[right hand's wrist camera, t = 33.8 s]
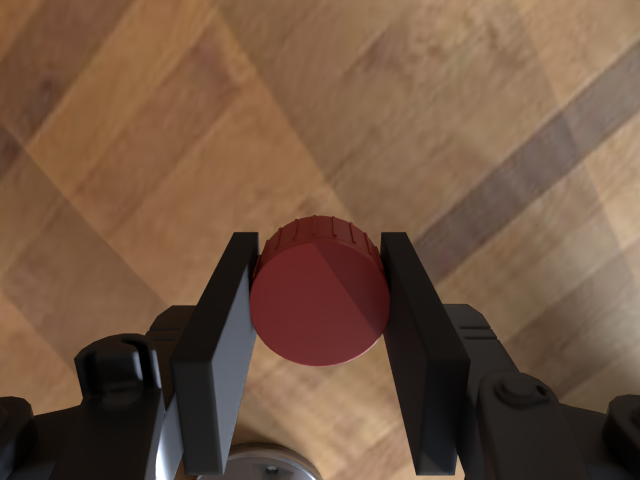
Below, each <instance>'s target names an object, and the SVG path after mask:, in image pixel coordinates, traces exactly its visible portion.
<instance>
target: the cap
mask: <svg viewBox="0 0 640 480" xmlns="http://www.w3.org/2000/svg"><path fill="white" fill-rule="evenodd" d="M251 279H253V283H252V286H251V289H250V294H249V299H250V315H251V321H252V324H253V326H254V328H255V331H256V332H257V334H258V335H259V337H260V338H261V340H262V341H263V342H264V343H265V344H266V345H267V346H268V347H269V348H270V349H271V350H272V351H274V352H275V353H277V354H278V355H280V356H281V357H283V358H285V359H287V360H290V361H292V362H295V363H298V364H302V365H307V366H318V367H321V366H332V365H338V364H341V363H345V362H347V361H350V360H352V359H354V358H356V357H358V356H360V355H362V354H363V353H364V352H366V351H367V350H368V349H370V348H371V347H372V346H373V345H374V344H375V343H376V341H377V340H378V339H379V338H380V336H381V335H382V333H383V331H384V330H385V327H386V325H387V323H388V319H389V311H390V291H389V288H388V282H387V279H386V276H385V272H384V267H383V264H382V261H381V257H380V254H379V251H378V248H377V246H374V245H373V243H372V242H371V240H370V239H369V238H368V235H367V233H366V232H365V233H363V232H362V231H361V230H360V229H359V228H357V227H356V226H354V225H353V223H351V222H350V223H349V222H346V221H344V220H341V219H338V218H335V217H334V216H332V217H329V216H316V215H313V216H311V217H306V218H302V219H295V221H293V222H291V223H289V224H287V225H285V226H284V227H282V228H281V227H280V228H279V229H278V231H277V232H276V233H275V234H274V235H273V236H272V237H271V238H270V240H267V241H266V244H265V247H264V249H263V251H262V254H261V255H260V254H259V257H258V260H257V263H256V266H255V269H254V272H253V275H252V278H251Z"/></svg>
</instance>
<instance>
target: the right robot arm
mask: <svg viewBox="0 0 640 480" xmlns="http://www.w3.org/2000/svg"><path fill="white" fill-rule="evenodd" d="M258 257H259V235H258V232H234V233H233V235H232V237H231V239H230V241H229V243H228V245H227V247H226V249H225V251H224V253H223V255H222V257H221V259H220V261H219V263H218V265H217V267H216V269H215V270H214V272H213V274H212V276H211V278H210V280H209V282H208V284H207V286H206V288H205V290H204V292H203V294H202V296H201V298H200V300H199V302H198V304H197V305H172V306H171V307H170V308H168V309H167V310H165V311H164V312H162V313H161V314H160V315H158V316H157V318H156V319H155V321H154V322H153V324H152V325H151V327H150V330H149V331H147V333H146V335H145V336H144V335H141V334H118V335H113V336H108V337H105V338H103V339H100V340H98V341H95V342H93V343H91V344H90V345H88V346H87V347H85V348H84V349H82V350H81V351H80V352H79V353H78V355H77V356H76V357H75V358H74V361H75V365H76V370H77V374H78V378H79V383H80V387H81V391H82V396H83V400H82V402H81V404H80V405H78V406H75V407H71V408H68V409H63V410H59V411H54V412H50V413H45V414H40V415H36V416H34V415H33V411H32V408H31V405H30V404H29V403H28V402H27V401H26V400H25V399H23V398H18V397H13V396H10V397H0V480H176V478H175V475H176V472H177V469H178V466H179V463H180V460H181V458H182V457H183V464H184V471H185V475H196V477H195V480H323V479H322V477H321V475H320V474H319V472H318V470H317V469H316V468H315V467H314V466H313V465H312V464H311V463H310V462H309V461H308V460H307V459H305V458H304V457H302V456H301V455H299V454H297V453H296V452H294V451H291V450H289V449H286V448H283V447H280V446H276V445H271V444H261V443H252V444H242V445H237V446H233V447H230V445H231V441H232V437H233V432H234V428H235V424H236V420H237V415H238V411H239V407H240V402H241V398H242V394H243V390H244V385H245V381H246V377H247V373H248V368H249V364H250V360H251V356H252V351H253V347H254V343H255V338H256V334H257V332H256V331H255V328H254V326H253V324H252V321H251V315H250V299H249V294H250V289H251V286H252V283H253V279H251V278H252V275H253V272H254V269H255V266H256V263H257V260H258ZM380 257H381V261H382V264H383V267H384V272H385V276H386V279H387V282H388V288H389V291H390V311H389V319H388V323H387V325H386V327H385V330H384V331H383V335H384V340H385V344H386V348H387V353H388V357H389V361H390V365H391V370H392V374H393V378H394V382H395V387H396V391H397V395H398V400H399V404H400V408H401V412H402V417H403V421H404V425H405V429H406V434H407V438H408V442H409V446H410V451H411V455H412V459H413V464H414V468H415V472H416V475H455V469H456V462H457V455H458V456H459V459H460V462H461V465H462V468H463V470H464V473H465V478H464V480H640V395H631V394H627V395H622V396H617V397H615V398H614V399H613V400H612V401H611V402H610V403H609V407H608V410H607V414H604V413H600V412H595V411H590V410H586V409H581V408H576V407H572V406H569V405H565V404H561V403H559V401H558V399H557V397H556V396H555V394H554V393H553V391H552V390H551V389H550V388H549V387H548V386H547V385H545V384H544V383H543V382H541V381H540V380H539V379H536V378H534V377H532V376H530V375H527V374H525V373H521V372H519V370H518V368H517V367H516V365H515V364H514V362H513V361H512V359H511V358H510V356H509V355H508V353H507V352H506V350H505V348H504V347H503V345H502V344H501V342H500V341H499V340H497V336H496V335H495V333H494V332H493V330H492V329H490V325H489V324H488V322H487V321H486V319H485V318H484V316H483V315H482V314H481V313H480V312H478V311H477V310H475V309H474V308H472V307H471V306H470V305H468V304H442V302H441V300H440V298H439V297H438V295H437V293H436V291H435V289H434V287H433V285H432V283H431V281H430V279H429V277H428V275H427V273H426V271H425V269H424V267H423V265H422V263H421V261H420V259H419V257H418V255H417V254H416V252H415V250H414V248H413V246H412V244H411V242H410V240H409V238H408V236H407V234H406V232H381V248H380Z"/></svg>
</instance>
